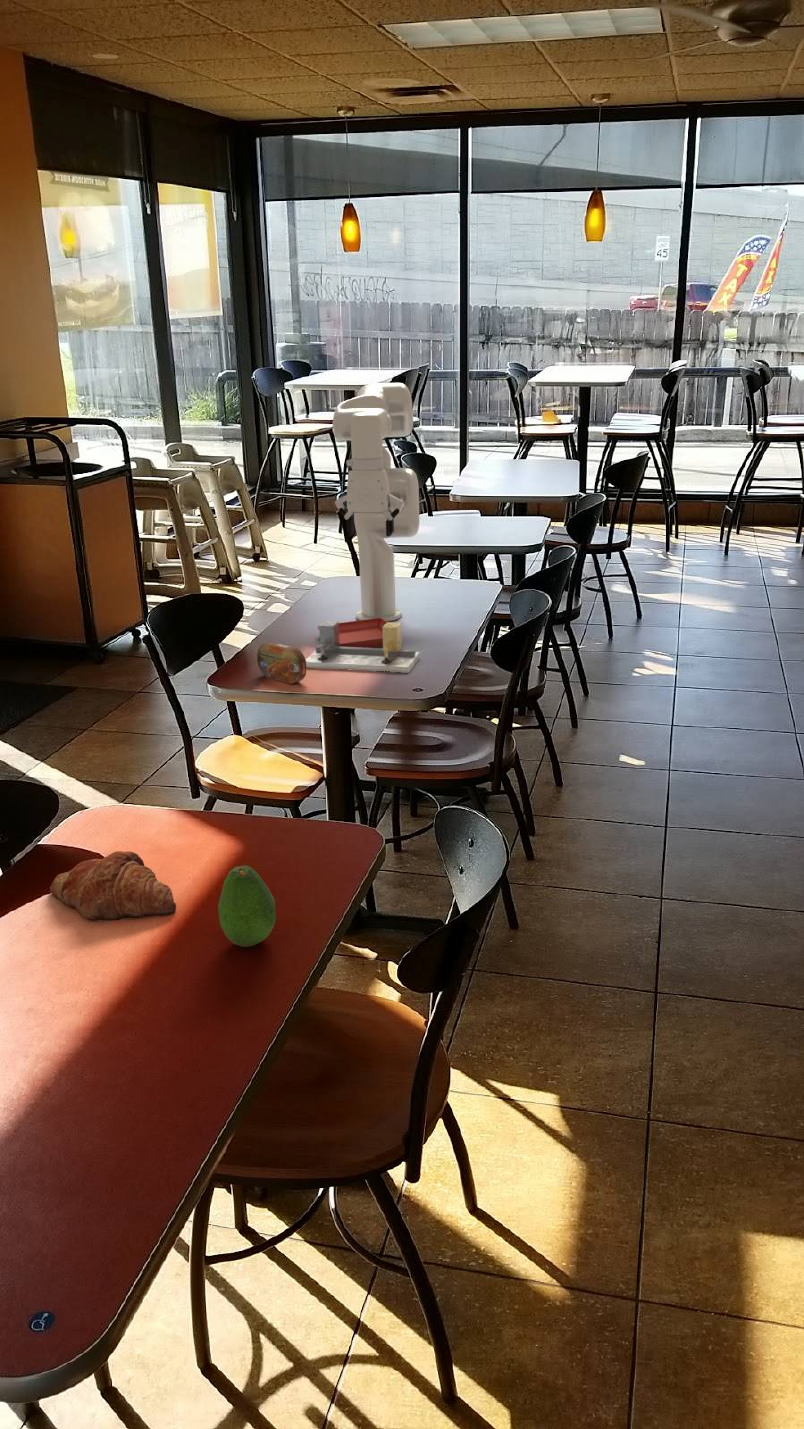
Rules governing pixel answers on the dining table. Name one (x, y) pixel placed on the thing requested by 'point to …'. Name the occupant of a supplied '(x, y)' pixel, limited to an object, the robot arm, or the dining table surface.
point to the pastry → (113, 888)
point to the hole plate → (356, 654)
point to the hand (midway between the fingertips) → (370, 535)
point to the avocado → (246, 907)
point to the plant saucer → (361, 633)
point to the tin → (281, 663)
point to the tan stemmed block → (392, 637)
